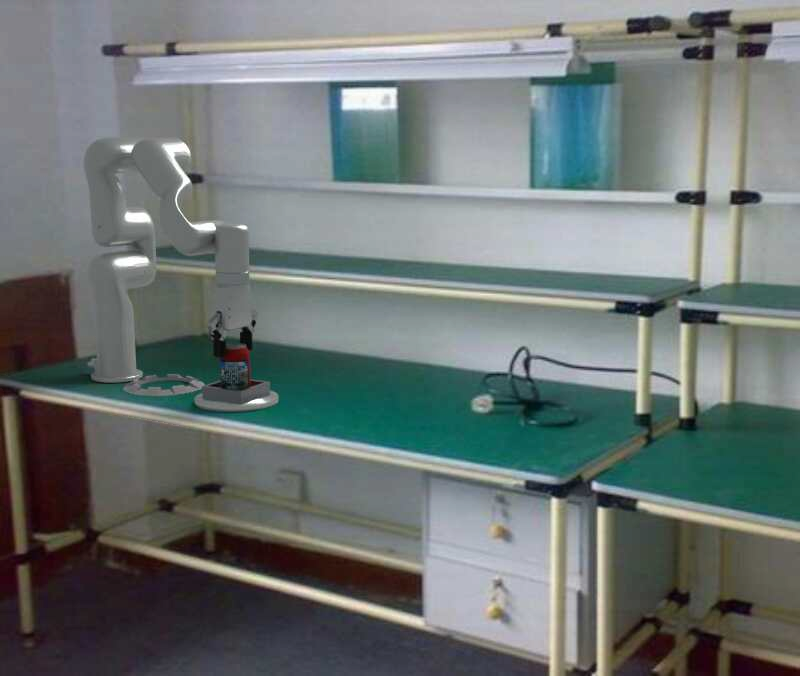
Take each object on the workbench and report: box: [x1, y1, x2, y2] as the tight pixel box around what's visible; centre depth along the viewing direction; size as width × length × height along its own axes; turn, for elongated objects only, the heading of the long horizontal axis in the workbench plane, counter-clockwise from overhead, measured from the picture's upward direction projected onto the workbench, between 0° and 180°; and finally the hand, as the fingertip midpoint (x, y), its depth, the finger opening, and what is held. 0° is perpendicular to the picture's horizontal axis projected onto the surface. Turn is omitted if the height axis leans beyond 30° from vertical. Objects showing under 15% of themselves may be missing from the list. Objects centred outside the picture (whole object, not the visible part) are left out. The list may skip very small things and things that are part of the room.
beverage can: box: [219, 342, 251, 390], centre depth 259 cm, size 7×7×12 cm
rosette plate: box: [194, 378, 279, 413], centre depth 260 cm, size 19×19×4 cm
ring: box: [122, 373, 206, 397], centre depth 276 cm, size 19×19×2 cm
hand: (233, 353), depth 259 cm, fingers open, 9 cm apart
